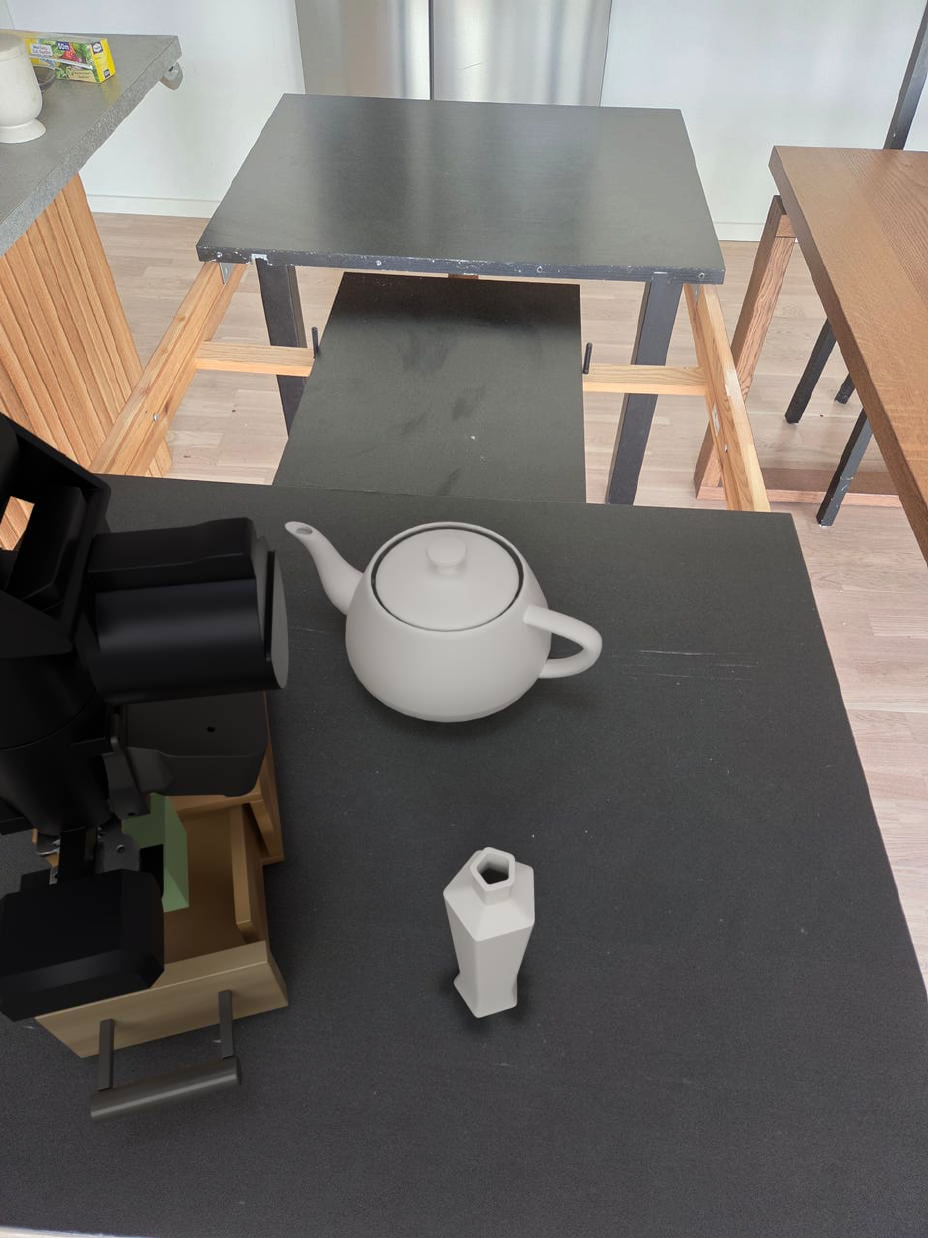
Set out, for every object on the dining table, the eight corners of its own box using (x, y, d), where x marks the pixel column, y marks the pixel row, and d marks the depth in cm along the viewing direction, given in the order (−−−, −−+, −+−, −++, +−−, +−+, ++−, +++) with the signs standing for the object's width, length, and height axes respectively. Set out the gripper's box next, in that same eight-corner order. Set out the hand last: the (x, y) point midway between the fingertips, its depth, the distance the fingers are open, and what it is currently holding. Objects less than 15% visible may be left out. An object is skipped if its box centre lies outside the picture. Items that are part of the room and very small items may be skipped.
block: (101, 927, 43) (71, 890, 40) (104, 850, 46) (76, 809, 43) (189, 907, 44) (167, 869, 40) (186, 832, 47) (165, 791, 43)
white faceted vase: (449, 943, 51) (444, 822, 40) (521, 945, 51) (536, 824, 40) (446, 1023, 48) (439, 915, 37) (522, 1025, 48) (539, 919, 37)
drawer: (298, 1095, 45) (276, 1059, 40) (75, 1156, 43) (24, 1126, 38) (267, 803, 57) (248, 747, 52) (92, 841, 55) (54, 786, 50)
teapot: (621, 638, 68) (644, 524, 59) (554, 793, 58) (570, 685, 49) (350, 552, 75) (333, 437, 66) (251, 678, 65) (216, 564, 56)
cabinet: (284, 861, 55) (260, 792, 49) (84, 906, 53) (31, 841, 47) (265, 689, 65) (242, 613, 58) (94, 722, 63) (52, 647, 56)
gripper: (253, 858, 28) (316, 1013, 39) (221, 502, 40) (276, 700, 51) (-113, 941, 26) (66, 1078, 37) (-30, 541, 38) (86, 738, 50)
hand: (139, 870), depth 44 cm, fingers closed on block, 4 cm apart
